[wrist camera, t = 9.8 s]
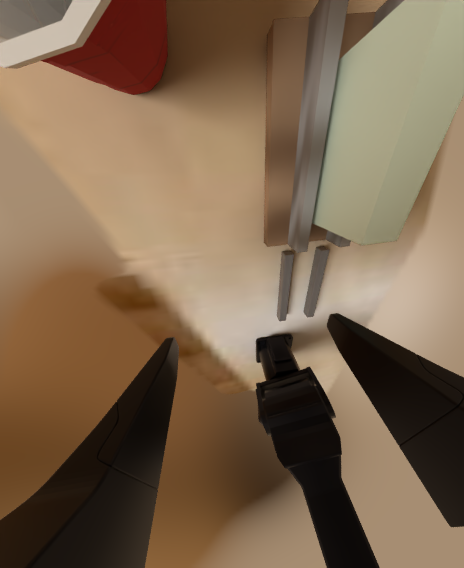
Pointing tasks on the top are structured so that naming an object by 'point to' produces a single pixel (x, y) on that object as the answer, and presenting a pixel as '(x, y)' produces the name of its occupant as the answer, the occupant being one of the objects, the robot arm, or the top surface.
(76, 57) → the plastic cup
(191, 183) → the top surface
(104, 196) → the top surface
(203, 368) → the top surface
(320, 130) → the track plinth
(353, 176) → the door panel
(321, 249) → the grey upright bracket
